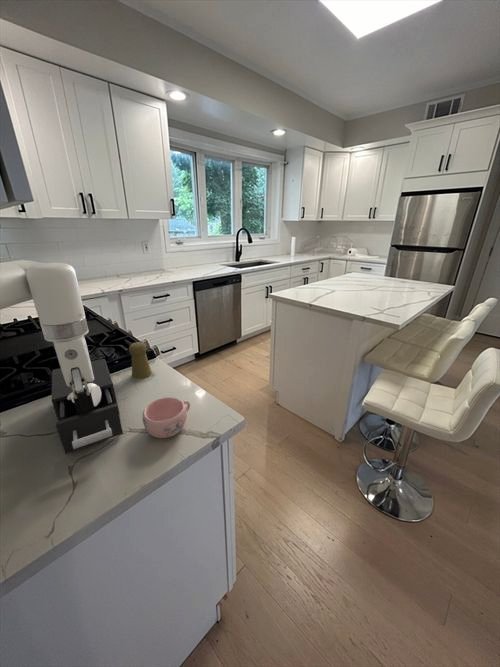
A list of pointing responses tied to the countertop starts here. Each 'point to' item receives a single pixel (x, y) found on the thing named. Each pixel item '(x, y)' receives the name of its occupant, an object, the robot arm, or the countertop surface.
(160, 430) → the mug
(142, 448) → the countertop surface
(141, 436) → the countertop surface
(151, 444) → the countertop surface
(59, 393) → the drawer cabinet
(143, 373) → the cork
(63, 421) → the dark grey drawer
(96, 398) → the garlic bulb
